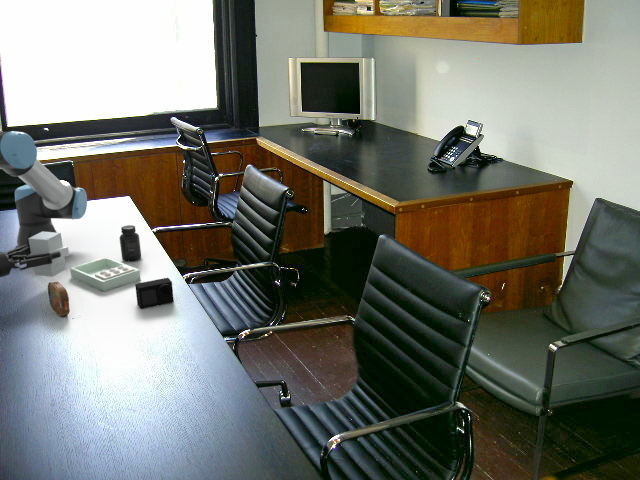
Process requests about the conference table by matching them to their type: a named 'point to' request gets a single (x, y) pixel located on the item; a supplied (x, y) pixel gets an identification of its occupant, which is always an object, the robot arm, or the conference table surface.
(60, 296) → the tin
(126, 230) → the supplement bottle
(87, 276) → the pale green tray
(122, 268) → the egg carton
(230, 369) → the conference table surface
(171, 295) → the digital camera
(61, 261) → the supplement box
